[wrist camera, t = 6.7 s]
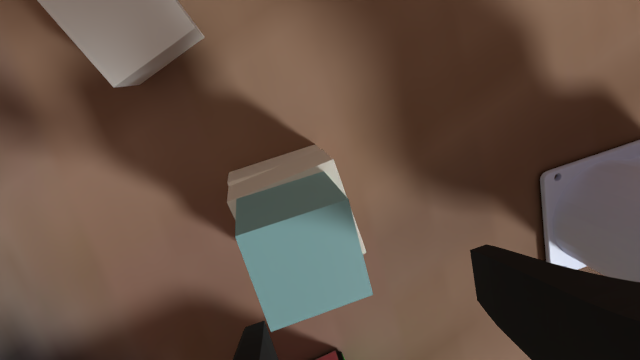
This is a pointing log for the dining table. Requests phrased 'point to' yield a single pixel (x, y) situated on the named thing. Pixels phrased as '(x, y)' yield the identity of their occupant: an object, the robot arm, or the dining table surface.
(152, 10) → the grey block
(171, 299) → the dining table surface
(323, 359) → the puzzle cube
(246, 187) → the tower top
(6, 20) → the dining table surface
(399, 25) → the dining table surface
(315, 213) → the teal cube
